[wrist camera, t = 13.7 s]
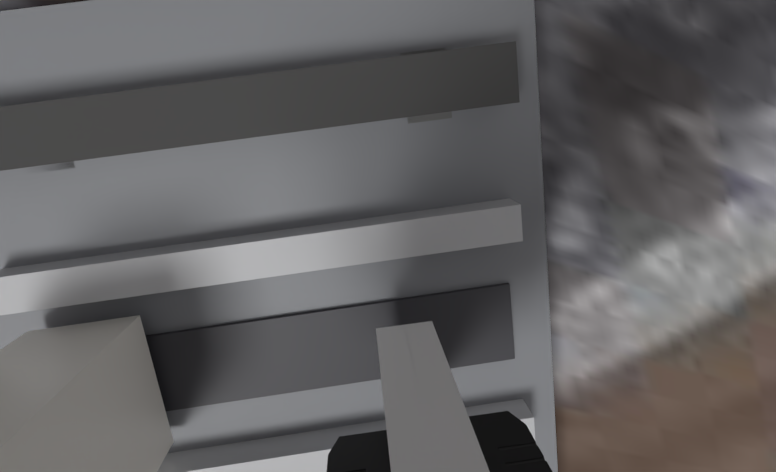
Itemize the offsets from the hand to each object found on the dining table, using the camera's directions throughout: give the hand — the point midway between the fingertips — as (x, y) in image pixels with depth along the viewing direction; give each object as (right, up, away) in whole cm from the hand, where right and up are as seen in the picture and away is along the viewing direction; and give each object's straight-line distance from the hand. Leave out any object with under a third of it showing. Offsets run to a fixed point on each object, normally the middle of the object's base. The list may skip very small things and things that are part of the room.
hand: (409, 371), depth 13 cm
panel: (-4, +1, +4) cm, 6 cm away
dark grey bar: (-5, +8, +3) cm, 9 cm away
